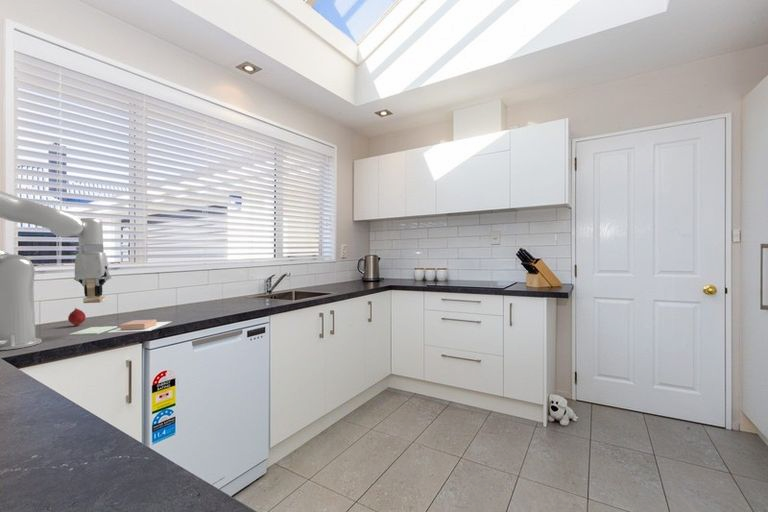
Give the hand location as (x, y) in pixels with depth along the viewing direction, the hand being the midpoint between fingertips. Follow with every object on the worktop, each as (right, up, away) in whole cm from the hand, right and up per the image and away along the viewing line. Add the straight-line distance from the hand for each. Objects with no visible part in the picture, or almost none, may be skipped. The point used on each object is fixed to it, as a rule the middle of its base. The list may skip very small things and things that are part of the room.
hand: (93, 295), depth 143 cm
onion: (-19, -15, +15) cm, 29 cm away
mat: (+15, -14, +7) cm, 22 cm away
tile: (+14, -12, +9) cm, 21 cm away
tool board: (0, -15, 0) cm, 15 cm away
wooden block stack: (0, -3, 0) cm, 3 cm away
